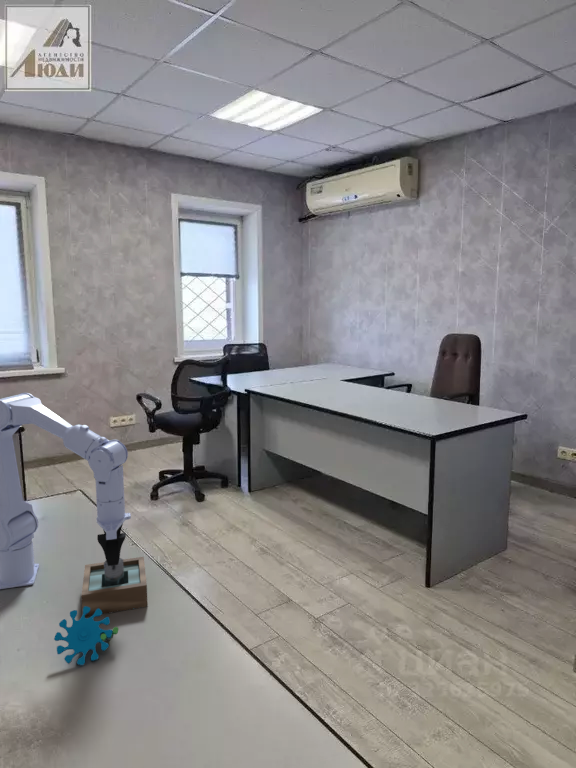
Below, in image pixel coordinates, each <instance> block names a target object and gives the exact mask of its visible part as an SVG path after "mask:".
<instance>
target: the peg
mask: <svg viewBox="0 0 576 768" xmlns="http://www.w3.org/2000/svg"><path fill="white" fill-rule="evenodd" d="M103 562H104V571H105V587H108V586H114V585H121V584H124V567H123V558H121V557H120V559H119V563H118V565H112V566H108V564H107V561H106V560H105V561H103Z"/></svg>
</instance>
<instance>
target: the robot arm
mask: <svg viewBox="0 0 576 768" xmlns="http://www.w3.org/2000/svg"><path fill="white" fill-rule="evenodd" d="M23 425H34V426H36V427H38V428H40V429H42V430H44V431H46V432H47V433H48V432H49V433H50V434H51V435H54V436H56V437H58V438H60V439H62V443H63V447H65V448H66V449H68V450H69V451H71V452H72V453H75V454H76V455H77V456H79V457H81V458H82V459H84V460H85V461H87V463H88V466H89V468H90V470H92V472H93V478H94V479H95V480H94V481H95V495H96V515H97V517H96V523H97V525H99V527H100V528H101V529H102V530H103V533H101V534H99V533H98V534H97V542H98V544H99V545H100V546H101V548H102V550H103V553H104V556H105V561H107V564H108V566H112V565H118V563H119V559H120V558H121V550H122V548H123V543H124V542H125V540H126V532H122V527H123V525H124V523H125V521H126V520H131V518H132V517H131V516H132V515H131V512H126V508H125V507H126V505H125V485H124V484H125V481H124V479H125V478H124V465H123V464H125V463H126V462H127V460H128V457H129V456H128V454H129V453H128V452H129V451H128V449H127V447H126V445H125V444H124V443H122V442H121V440H119V439H111V440H109V439H108V438H107V437H105V436H101V435H100V434H98V433H96V432H94V431H93V430H92V429H90V426H88V425H87V424H83V425H82V424H75V425H72V424H71V423H70V422H68V421H66V420H65V419H64V418H62V417H60V416H59V415H58V414H56V413H55V412H53V411H52V410H51V409H49V408H48V407H46V406H45V405H43V404H42V401H41V399H40V398H39V397H36V396H34V395H33V394H31V393H29V392H21V393H19V394H15V395H11V396H6V397H3V398H2V397H1V398H0V590H5V589H10V588H16V587H25V586H26V587H27V586H31V585H32V586H33V585H34V584H35V581H36V577H37V574H38V570H39V566H40V563H36V562H35V553H34V551H35V550H34V541H33V539H34V537H35V535H34V533H36V532H37V530H38V528H39V519H38V517H37V515H36V514H35V511H34V509H33V505H32V504H31V503H29V502H27V501H25V500H24V498H23V497H24V496H23V492H22V485H21V480H20V474H19V469H18V463H17V455H16V450H15V449H16V448H15V444H14V438H13V437H14V434H15V433H16V432H17V431H18V430H19V429H20V427H21V426H23Z"/></svg>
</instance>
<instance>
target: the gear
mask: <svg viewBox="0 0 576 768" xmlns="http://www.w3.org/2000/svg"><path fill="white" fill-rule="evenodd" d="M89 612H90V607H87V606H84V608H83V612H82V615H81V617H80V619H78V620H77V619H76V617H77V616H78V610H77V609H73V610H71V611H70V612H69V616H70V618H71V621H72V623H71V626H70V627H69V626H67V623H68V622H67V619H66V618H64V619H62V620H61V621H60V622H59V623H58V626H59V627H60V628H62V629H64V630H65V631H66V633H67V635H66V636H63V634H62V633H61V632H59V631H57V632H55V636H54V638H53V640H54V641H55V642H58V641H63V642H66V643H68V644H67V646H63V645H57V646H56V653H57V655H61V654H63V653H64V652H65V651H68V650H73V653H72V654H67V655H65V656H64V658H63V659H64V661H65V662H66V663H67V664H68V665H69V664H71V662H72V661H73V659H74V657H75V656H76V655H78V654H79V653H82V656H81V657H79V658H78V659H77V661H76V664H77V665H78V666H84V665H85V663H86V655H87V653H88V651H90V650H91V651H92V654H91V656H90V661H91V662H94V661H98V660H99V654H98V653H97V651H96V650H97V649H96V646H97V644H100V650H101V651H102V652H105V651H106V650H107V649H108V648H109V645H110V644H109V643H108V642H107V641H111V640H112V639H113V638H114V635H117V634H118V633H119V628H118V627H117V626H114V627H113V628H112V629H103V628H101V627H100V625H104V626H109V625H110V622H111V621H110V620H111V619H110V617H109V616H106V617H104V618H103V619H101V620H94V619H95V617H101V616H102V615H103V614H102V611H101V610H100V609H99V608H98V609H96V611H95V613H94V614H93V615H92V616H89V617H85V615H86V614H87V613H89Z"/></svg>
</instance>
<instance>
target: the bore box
mask: <svg viewBox="0 0 576 768" xmlns="http://www.w3.org/2000/svg"><path fill="white" fill-rule="evenodd" d="M122 559H123V558H122ZM104 562H105V561H102V562H97V563H89V564H84V571H83V572H84V573H83V579H82V587H81V610H82V613H83V608H84V606H87V607H90V612H89V613H87V614H86V615H85V618H89V617H91V616H92V615H93V614H94V613H95V611H96V609H98V608H99V609H100V610H101V611H102V615H106V614H111V612H113V613H117V612H124V611H129V609H130V610H134V609H133V608H136V609H141V608H140V607H142V608H146V607H145V606H148V586H147V584H148V583H147V576H146V567H145V557H144V556H139V557H138V556H137V557H133V558H125V559H123V567H124V584H121V585H114V586H108V587H105V571H104ZM123 610H124V611H123Z"/></svg>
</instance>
